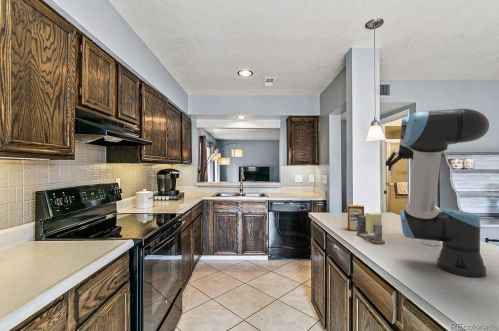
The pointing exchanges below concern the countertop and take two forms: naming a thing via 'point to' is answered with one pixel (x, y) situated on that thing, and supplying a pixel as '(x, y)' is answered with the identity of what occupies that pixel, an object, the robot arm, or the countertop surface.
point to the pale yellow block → (372, 221)
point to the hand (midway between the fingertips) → (404, 174)
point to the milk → (431, 242)
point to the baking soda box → (354, 216)
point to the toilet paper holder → (365, 235)
